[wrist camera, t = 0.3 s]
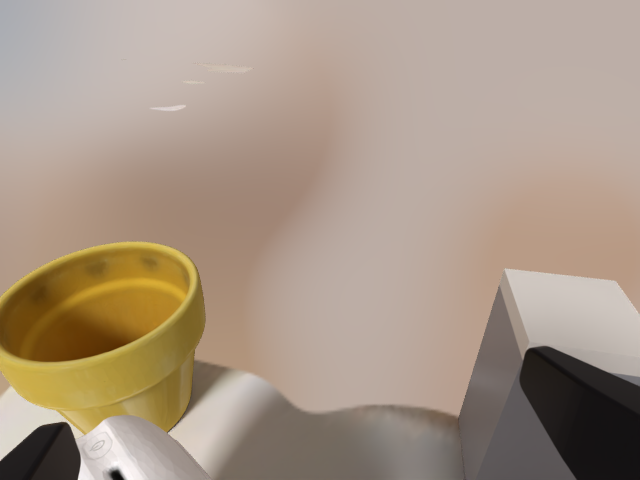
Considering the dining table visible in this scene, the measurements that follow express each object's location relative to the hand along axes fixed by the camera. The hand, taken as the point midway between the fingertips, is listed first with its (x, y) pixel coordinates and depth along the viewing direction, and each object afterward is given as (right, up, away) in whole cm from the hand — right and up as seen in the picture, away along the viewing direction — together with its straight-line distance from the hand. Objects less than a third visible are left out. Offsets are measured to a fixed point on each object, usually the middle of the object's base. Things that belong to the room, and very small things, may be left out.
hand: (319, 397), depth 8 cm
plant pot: (-12, -8, +19) cm, 24 cm away
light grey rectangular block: (+11, -10, +16) cm, 22 cm away
